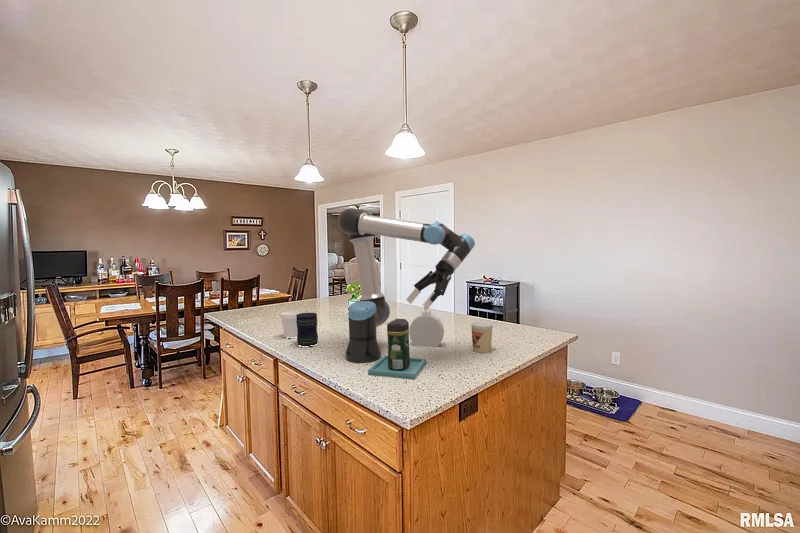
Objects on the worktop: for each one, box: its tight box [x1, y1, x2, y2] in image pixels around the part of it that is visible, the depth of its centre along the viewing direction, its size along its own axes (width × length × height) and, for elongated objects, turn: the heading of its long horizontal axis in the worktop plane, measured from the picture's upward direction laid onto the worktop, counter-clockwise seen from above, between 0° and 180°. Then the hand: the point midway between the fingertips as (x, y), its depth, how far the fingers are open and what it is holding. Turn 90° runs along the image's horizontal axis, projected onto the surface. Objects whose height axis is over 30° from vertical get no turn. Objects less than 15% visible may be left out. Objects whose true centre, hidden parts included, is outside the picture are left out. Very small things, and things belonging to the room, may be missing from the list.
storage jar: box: [296, 312, 319, 346], centre depth 180 cm, size 10×10×15 cm
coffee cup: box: [470, 321, 494, 354], centre depth 166 cm, size 9×9×12 cm
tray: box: [367, 355, 427, 380], centre depth 145 cm, size 18×18×2 cm
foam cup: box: [280, 310, 301, 338], centre depth 194 cm, size 10×9×13 cm
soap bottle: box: [409, 306, 445, 348], centre depth 176 cm, size 16×5×20 cm, turn 75°
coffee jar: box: [386, 318, 411, 370], centre depth 144 cm, size 10×8×19 cm
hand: (416, 304), depth 149 cm, fingers open, 13 cm apart
